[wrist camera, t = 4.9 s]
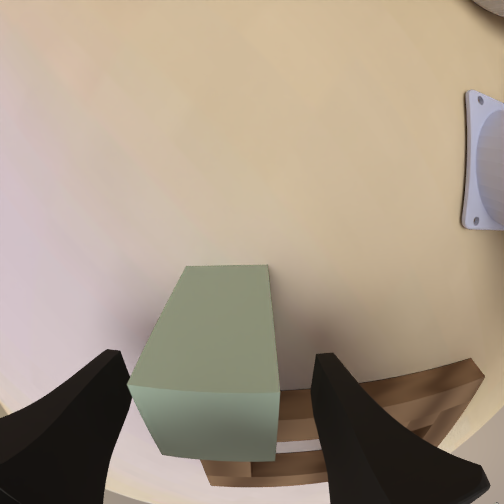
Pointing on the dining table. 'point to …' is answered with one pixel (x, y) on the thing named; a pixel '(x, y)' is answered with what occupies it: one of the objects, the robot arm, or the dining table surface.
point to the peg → (212, 368)
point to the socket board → (386, 395)
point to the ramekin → (492, 6)
